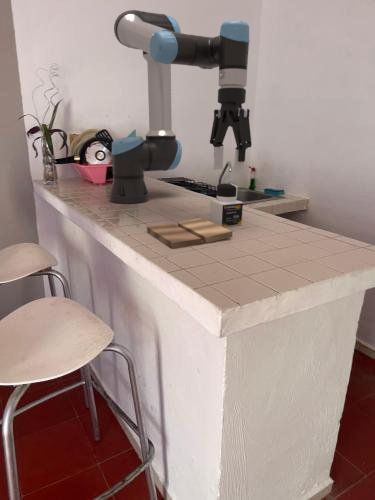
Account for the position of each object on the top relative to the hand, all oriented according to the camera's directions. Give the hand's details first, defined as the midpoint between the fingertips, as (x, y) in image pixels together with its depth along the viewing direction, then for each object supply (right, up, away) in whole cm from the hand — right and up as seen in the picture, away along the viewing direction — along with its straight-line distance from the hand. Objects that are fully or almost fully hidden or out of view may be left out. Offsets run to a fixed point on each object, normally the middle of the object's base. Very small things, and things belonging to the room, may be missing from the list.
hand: (228, 171), depth 108 cm
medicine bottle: (0, -15, +5) cm, 16 cm away
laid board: (-15, -20, -9) cm, 26 cm away
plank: (-7, -18, -5) cm, 20 cm away
